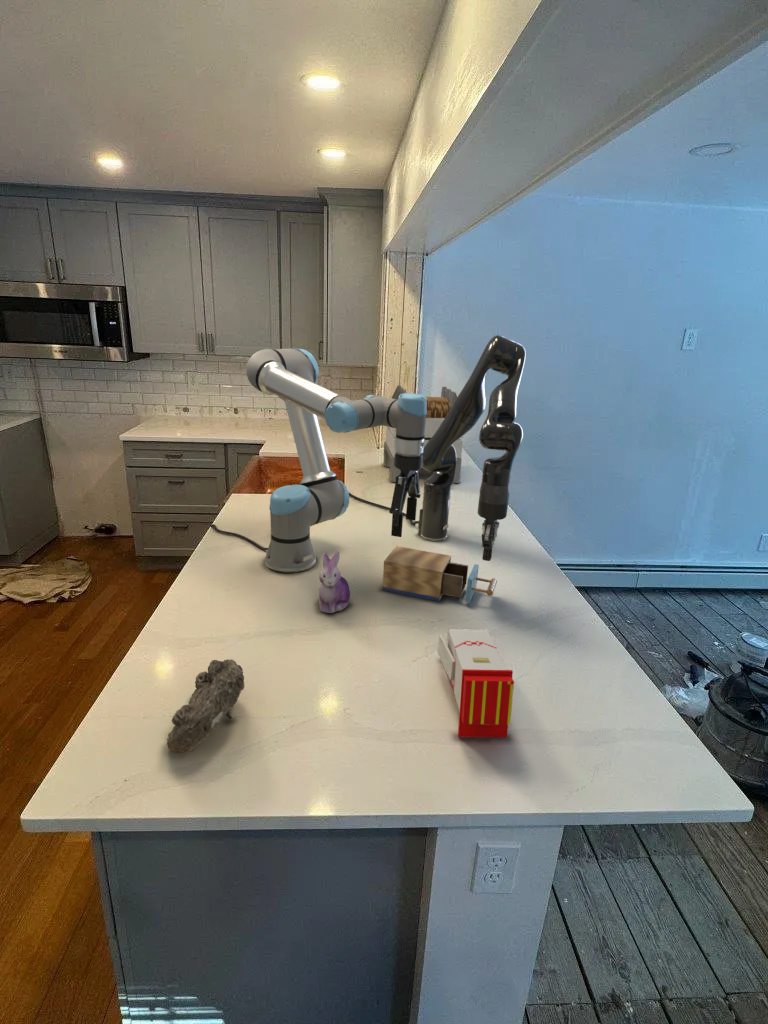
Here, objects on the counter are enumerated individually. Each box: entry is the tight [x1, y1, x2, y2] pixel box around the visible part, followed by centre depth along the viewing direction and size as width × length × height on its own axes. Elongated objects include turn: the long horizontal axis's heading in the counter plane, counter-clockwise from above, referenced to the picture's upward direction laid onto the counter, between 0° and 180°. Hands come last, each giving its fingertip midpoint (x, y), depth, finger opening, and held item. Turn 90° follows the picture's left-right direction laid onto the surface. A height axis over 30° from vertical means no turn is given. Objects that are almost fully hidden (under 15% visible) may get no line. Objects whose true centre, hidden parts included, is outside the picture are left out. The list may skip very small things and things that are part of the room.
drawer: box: [441, 561, 498, 604], centre depth 157 cm, size 21×10×7 cm, turn 71°
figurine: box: [318, 551, 351, 614], centre depth 147 cm, size 9×10×15 cm
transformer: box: [383, 384, 464, 484], centre depth 268 cm, size 34×33×41 cm
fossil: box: [166, 658, 245, 754], centre depth 106 cm, size 22×10×15 cm
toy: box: [437, 628, 515, 738], centre depth 117 cm, size 12×13×30 cm
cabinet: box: [381, 545, 452, 602], centre depth 161 cm, size 16×11×9 cm
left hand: (403, 527), depth 158 cm, fingers open, 13 cm apart
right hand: (486, 559), depth 153 cm, fingers closed
